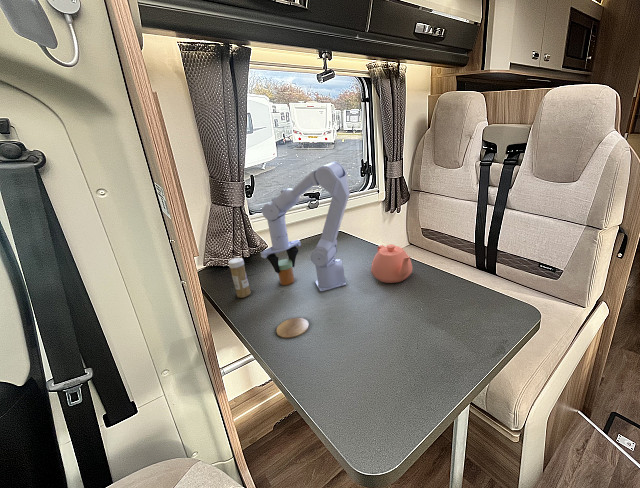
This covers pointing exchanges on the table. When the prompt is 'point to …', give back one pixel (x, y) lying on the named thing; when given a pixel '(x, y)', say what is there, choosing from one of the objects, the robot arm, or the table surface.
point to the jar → (286, 276)
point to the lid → (285, 264)
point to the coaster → (292, 327)
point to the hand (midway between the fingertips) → (285, 269)
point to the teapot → (391, 264)
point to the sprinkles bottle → (239, 277)
